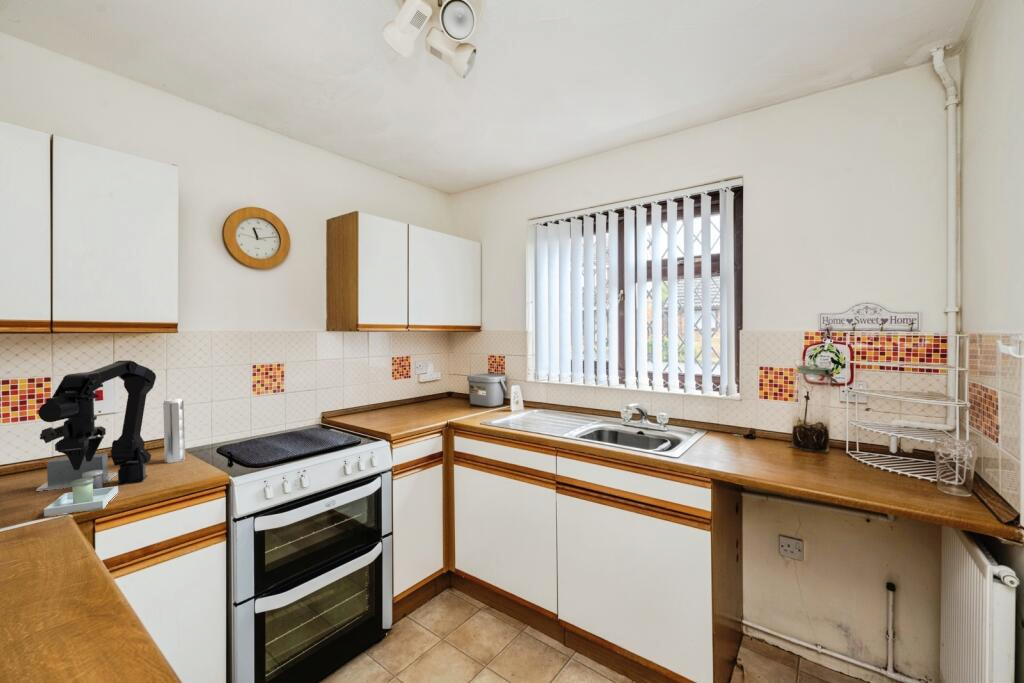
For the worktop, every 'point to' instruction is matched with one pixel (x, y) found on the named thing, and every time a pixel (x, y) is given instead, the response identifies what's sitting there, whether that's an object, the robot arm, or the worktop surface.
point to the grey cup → (94, 477)
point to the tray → (67, 506)
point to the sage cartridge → (82, 490)
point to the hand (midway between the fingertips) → (83, 465)
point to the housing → (73, 471)
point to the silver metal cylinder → (174, 430)
